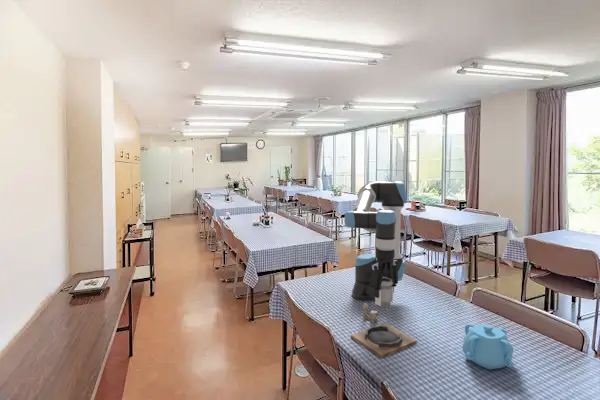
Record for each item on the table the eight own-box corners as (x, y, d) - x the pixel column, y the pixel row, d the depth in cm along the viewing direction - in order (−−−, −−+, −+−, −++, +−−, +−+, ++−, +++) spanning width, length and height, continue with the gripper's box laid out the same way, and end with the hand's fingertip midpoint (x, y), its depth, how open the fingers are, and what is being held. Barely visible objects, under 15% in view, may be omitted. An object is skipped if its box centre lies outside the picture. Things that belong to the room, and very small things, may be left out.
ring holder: (384, 325, 151) (384, 319, 151) (416, 343, 136) (416, 336, 136) (350, 337, 141) (350, 331, 140) (381, 358, 125) (381, 351, 125)
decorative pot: (513, 379, 112) (516, 342, 111) (461, 366, 120) (463, 330, 119) (509, 355, 127) (512, 322, 125) (463, 345, 134) (465, 313, 133)
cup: (389, 312, 132) (390, 283, 131) (373, 308, 135) (373, 280, 134) (394, 306, 138) (395, 278, 137) (379, 302, 142) (379, 275, 140)
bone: (385, 318, 154) (376, 303, 152) (376, 328, 152) (367, 312, 149) (374, 312, 162) (365, 297, 159) (365, 322, 160) (356, 306, 157)
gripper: (394, 243, 142) (393, 294, 145) (361, 249, 132) (360, 304, 135) (408, 247, 136) (406, 300, 138) (374, 253, 126) (373, 311, 128)
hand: (384, 302), depth 137 cm, fingers closed on cup, 6 cm apart
